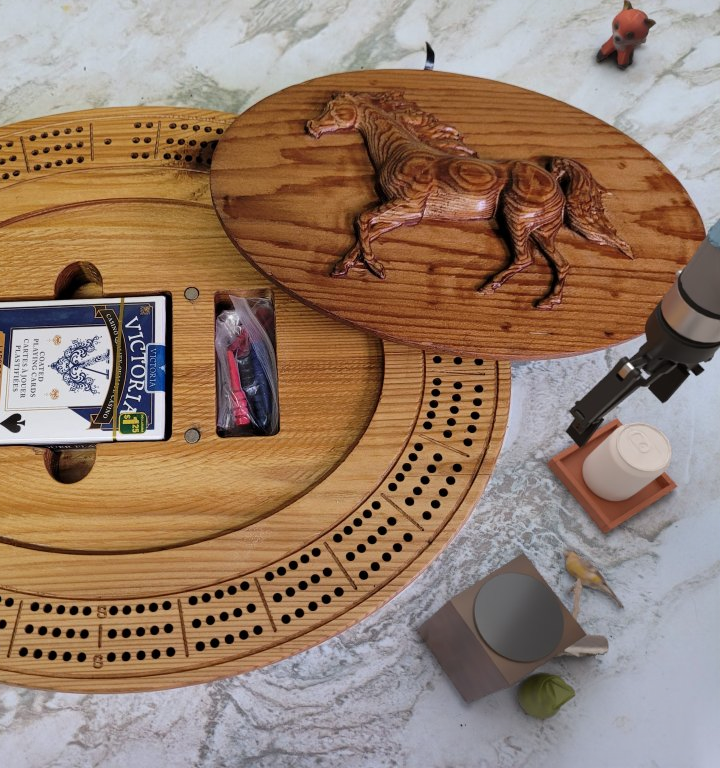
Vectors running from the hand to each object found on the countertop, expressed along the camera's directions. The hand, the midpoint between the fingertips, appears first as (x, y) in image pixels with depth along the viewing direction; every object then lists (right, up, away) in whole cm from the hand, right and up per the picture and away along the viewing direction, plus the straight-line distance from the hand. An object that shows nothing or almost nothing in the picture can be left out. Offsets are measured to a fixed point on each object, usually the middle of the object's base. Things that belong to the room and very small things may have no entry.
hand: (616, 416), depth 105 cm
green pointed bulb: (-9, -38, +4) cm, 39 cm away
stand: (-16, -31, +7) cm, 36 cm away
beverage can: (+7, -10, +17) cm, 21 cm away
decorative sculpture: (-1, -28, +9) cm, 29 cm away
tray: (+7, -10, +17) cm, 21 cm away
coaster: (-17, -23, -11) cm, 30 cm away
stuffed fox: (+28, +68, +54) cm, 91 cm away
